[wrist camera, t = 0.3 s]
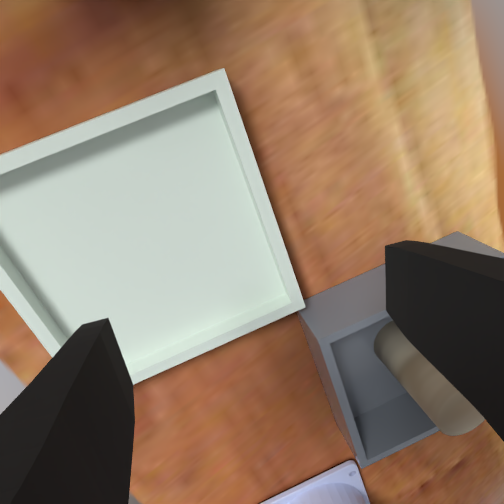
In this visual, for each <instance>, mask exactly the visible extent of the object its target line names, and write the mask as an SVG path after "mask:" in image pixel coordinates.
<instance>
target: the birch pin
mask: <svg viewBox="0 0 504 504" xmlns="http://www.w3.org/2000/svg"><path fill="white" fill-rule="evenodd" d="M374 352H375V354H376V355H377V357H378V358H379V359H380V360H381V361H382V362H383V364H384V365H385V366H386V367H387V368H388V369H389V371H390V372H391V373H392V374H393V375H394V377H395V378H396V379H397V380H398V381H399V382H400V384H401V385H402V386H403V387H404V388H405V390H406V391H407V392H408V393H409V394H410V395H411V397H412V398H413V399H414V400H415V401H416V402H417V404H418V405H419V406H420V407H421V408H422V410H423V411H424V412H425V413H426V414H427V415H428V417H429V418H430V419H431V420H432V421H433V423H434V424H435V425H436V426H437V427H438V428H439V430H440V431H441V432H442V433H444V434H446V435H450V436H456V435H461V434H464V433H467V432H469V431H471V430H473V429H474V428H476V427H477V426H478V425H480V424H481V423H482V422H483V421H484V420H485V418H484V417H483V416H482V415H481V414H480V413H479V412H478V411H477V410H476V408H475V407H474V406H473V405H472V404H471V403H470V402H469V401H468V400H467V399H466V398H465V397H464V396H463V395H462V394H461V393H460V392H459V391H458V390H457V389H456V388H455V387H454V386H453V385H452V384H451V383H450V382H449V381H448V380H447V379H446V378H445V377H444V376H443V375H442V374H441V373H440V372H439V371H438V370H437V369H436V368H435V367H434V366H433V365H432V364H431V363H430V362H429V361H428V360H427V359H426V358H425V357H424V356H423V355H422V354H421V353H420V352H419V351H418V350H417V349H416V348H415V347H414V346H413V345H412V344H411V343H410V342H409V341H408V340H407V338H406V337H405V336H404V334H403V333H402V332H401V331H400V329H399V328H398V327H397V325H396V324H395V323H394V321H391V322H389V323H387V324H386V325H385V326H384V327H383V328H382V329H381V330H380V331H379V332H378V334H377V336H376V338H375V341H374Z"/></svg>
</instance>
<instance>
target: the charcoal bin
mask: <svg viewBox="0 0 504 504" xmlns="http://www.w3.org/2000/svg"><path fill="white" fill-rule="evenodd" d="M430 244H436V245H441V246H446V247H451V248H455V249H460V250H465V251H470V252H474V253H479V254H484V255H489V256H494V257H499V258H504V253H502V252H500V251H498V250H496V249H494V248H492V247H490V246H488V245H486V244H483V243H481V242H479V241H477V240H475V239H473V238H471V237H469V236H467V235H464V234H462V233H460V232H458V231H457V232H455V233H452V234H450V235H448V236H446V237H443V238H441V239H439V240H437V241H435V242H432V243H430ZM303 301H304V304H305V308H303V309H300V310H298V311H296V312H297V314H298V317H299V320H300V323H301V326H302V329H303V331H304V334H305V337H306V340H307V343H308V345H309V348H310V351H311V354H312V357H313V359H314V362H315V365H316V368H317V371H318V373H319V376H320V379H321V382H322V385H323V387H324V390H325V393H326V396H327V399H328V401H329V404H330V407H331V410H332V413H333V415H334V418H335V421H336V424H337V426H338V428H339V429H340V431H341V433H342V435H343V437H344V438H345V440H346V442H347V444H348V445H349V447H350V449H351V451H352V453H353V454H354V456H355V458H356V460H357V462H358V463H359V465H360V467H361V469H362V468H364V467H366V466H369V465H371V464H373V463H375V462H377V461H379V460H381V459H383V458H385V457H387V456H389V455H391V454H393V453H395V452H397V451H399V450H401V449H403V448H405V447H407V446H409V445H411V444H413V443H415V442H417V441H419V440H421V439H424V438H426V437H428V436H430V435H432V434H434V433H436V432H438V431H440V430H439V428H438V427H437V426H436V425H435V424H434V423H433V421H432V420H431V419H430V418H429V417H428V415H427V414H426V413H425V412H424V411H423V410H422V408H421V407H420V406H419V405H418V404H417V402H416V401H415V400H414V399H413V398H412V397H411V395H410V394H409V393H408V392H407V391H406V390H405V388H404V387H403V386H402V385H401V384H400V382H399V381H398V380H397V379H396V378H395V377H394V375H393V374H392V373H391V372H390V371H389V369H388V368H387V367H386V366H385V365H384V364H383V362H382V361H381V360H380V359H379V358H378V357H377V355H376V354H375V352H374V341H375V338H376V336H377V334H378V332H379V331H380V330H381V329H382V328H383V327H384V326H385V325H386V324H387V323H389V322H391V321H393V320H392V318H391V317H390V316H389V314H388V313H387V311H386V276H385V264H383V265H381V266H379V267H377V268H374V269H372V270H370V271H368V272H365V273H363V274H361V275H359V276H356V277H354V278H352V279H350V280H348V281H345V282H343V283H341V284H339V285H336V286H334V287H332V288H330V289H327V290H325V291H323V292H321V293H319V294H316V295H314V296H312V297H310V298H307V299H305V300H303Z"/></svg>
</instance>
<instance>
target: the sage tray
mask: <svg viewBox="0 0 504 504" xmlns="http://www.w3.org/2000/svg"><path fill="white" fill-rule="evenodd" d="M0 290H1V291H2V292H3V294H4V295H5V296H6V298H7V299H8V300H9V301H10V303H11V304H12V305H13V307H14V308H15V309H16V311H17V312H18V313H19V315H20V316H21V317H22V318H23V320H24V321H25V322H26V324H27V325H28V326H29V328H30V329H31V330H32V332H33V333H34V334H35V335H36V337H37V338H38V339H39V341H40V342H41V343H42V345H43V346H44V347H45V348H46V350H47V351H48V352H49V354H50V355H51V356H52V358H53V357H54V355H55V354H56V353H57V352H58V351H59V350H60V348H61V347H62V346H63V345H64V344H65V342H66V341H67V340H68V339H69V338H70V337H71V336H72V334H73V333H74V332H75V331H76V330H77V329H78V328H79V327H80V326H81V325H82V324H86V323H90V322H93V321H97V320H101V319H105V318H109V321H110V323H111V326H112V329H113V331H114V334H115V337H116V340H117V342H118V345H119V348H120V350H121V353H122V356H123V358H124V361H125V364H126V367H127V369H128V372H129V375H130V377H131V380H132V383H133V385H134V384H136V383H138V382H140V381H143V380H145V379H147V378H149V377H151V376H154V375H156V374H158V373H160V372H163V371H165V370H167V369H169V368H171V367H174V366H176V365H178V364H180V363H183V362H185V361H187V360H189V359H191V358H194V357H196V356H198V355H200V354H203V353H205V352H207V351H209V350H211V349H214V348H216V347H218V346H220V345H223V344H225V343H227V342H229V341H231V340H234V339H236V338H238V337H240V336H243V335H245V334H247V333H249V332H251V331H254V330H256V329H258V328H260V327H263V326H265V325H267V324H269V323H271V322H274V321H276V320H278V319H280V318H283V317H285V316H287V315H289V314H291V313H294V312H296V311H298V310H300V309H303V308H305V304H304V301H303V298H302V295H301V292H300V289H299V286H298V283H297V280H296V277H295V274H294V271H293V268H292V265H291V263H290V260H289V257H288V254H287V251H286V248H285V245H284V242H283V239H282V236H281V233H280V230H279V227H278V224H277V221H276V219H275V216H274V213H273V210H272V207H271V204H270V201H269V198H268V195H267V192H266V189H265V186H264V183H263V180H262V178H261V175H260V172H259V169H258V166H257V163H256V160H255V157H254V154H253V151H252V148H251V145H250V142H249V139H248V136H247V134H246V131H245V128H244V125H243V122H242V119H241V116H240V113H239V110H238V107H237V104H236V101H235V98H234V95H233V92H232V90H231V87H230V84H229V81H228V78H227V75H226V72H225V69H224V68H223V69H217V70H215V71H212V72H210V73H207V74H205V75H202V76H200V77H197V78H194V79H192V80H189V81H187V82H184V83H182V84H179V85H177V86H174V87H171V88H169V89H166V90H164V91H161V92H159V93H156V94H154V95H151V96H148V97H146V98H143V99H141V100H138V101H136V102H133V103H131V104H128V105H125V106H123V107H120V108H118V109H115V110H113V111H110V112H107V113H105V114H102V115H100V116H97V117H95V118H92V119H90V120H87V121H84V122H82V123H79V124H77V125H74V126H72V127H69V128H67V129H64V130H61V131H59V132H56V133H54V134H51V135H49V136H46V137H44V138H41V139H38V140H36V141H33V142H31V143H28V144H26V145H23V146H21V147H18V148H15V149H13V150H10V151H8V152H5V153H3V154H0Z"/></svg>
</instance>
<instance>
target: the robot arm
mask: <svg viewBox="0 0 504 504" xmlns="http://www.w3.org/2000/svg"><path fill="white" fill-rule="evenodd" d="M385 276H386V311H387V313H388V314H389V316H390V317H391V318H392V320H393V321H394V323H395V324H396V325H397V327H398V328H399V329H400V331H401V332H402V333H403V334H404V336H405V337H406V338H407V340H408V341H409V342H410V343H411V344H412V345H413V346H414V347H415V348H416V349H417V350H418V351H419V352H420V353H421V354H422V355H423V356H424V357H425V358H426V359H427V360H428V361H429V362H430V363H431V364H432V365H433V366H434V367H435V368H436V369H437V370H438V371H439V372H440V373H441V374H442V375H443V376H444V377H445V378H446V379H447V380H448V381H449V382H450V383H451V384H452V385H453V386H454V387H455V388H456V389H457V390H458V391H459V392H460V393H461V394H462V395H463V396H464V397H465V398H466V399H467V400H468V401H469V402H470V403H471V404H472V405H473V406H474V407H475V408H476V410H477V411H478V412H479V413H480V414H481V415H482V416H483V417H484V418H485V419H486V421H487V422H488V423H489V424H490V425H491V427H492V428H493V429H494V430H495V431H496V433H497V434H498V435H499V436H500V438H501V439H502V440H503V441H504V258H499V257H494V256H489V255H484V254H479V253H474V252H470V251H465V250H460V249H455V248H451V247H446V246H441V245H436V244H430V243H424V242H418V241H407V240H406V241H402V242H398V243H394V244H390V245H386V246H385ZM134 426H135V415H134V395H133V383H132V380H131V377H130V375H129V372H128V369H127V367H126V364H125V361H124V358H123V356H122V353H121V350H120V348H119V345H118V342H117V340H116V337H115V334H114V331H113V329H112V326H111V323H110V321H109V318H105V319H101V320H97V321H93V322H90V323H86V324H82V325H81V326H80V327H79V328H78V329H77V330H76V331H75V332H74V333H73V334H72V336H71V337H70V338H69V339H68V340H67V341H66V342H65V344H64V345H63V346H62V347H61V348H60V350H59V351H58V352H57V353H56V354H55V355H54V357H53V358H52V359H51V360H50V361H49V362H48V363H47V365H46V366H45V367H44V368H43V369H42V370H41V371H40V373H39V374H38V375H37V376H36V377H35V378H34V380H33V381H32V382H31V383H30V384H29V385H28V386H27V387H26V388H25V389H24V390H23V391H22V392H21V394H20V395H19V396H18V397H17V398H16V399H15V400H14V401H13V402H12V403H11V404H10V405H9V406H8V407H7V408H6V409H5V411H3V412H2V414H1V415H0V504H128V499H129V488H130V476H131V464H132V452H133V439H134ZM260 504H370V502H369V499H368V496H367V493H366V490H365V487H364V484H363V482H362V479H361V476H360V473H359V470H358V467H357V465H356V463H355V461H353V460H349V461H346V462H344V463H342V464H340V465H338V466H336V467H334V468H332V469H330V470H328V471H326V472H324V473H322V474H320V475H317V476H315V477H313V478H311V479H309V480H307V481H305V482H303V483H301V484H299V485H297V486H295V487H293V488H291V489H289V490H287V491H285V492H283V493H281V494H279V495H276V496H274V497H272V498H270V499H268V500H266V501H264V502H262V503H260Z"/></svg>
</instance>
